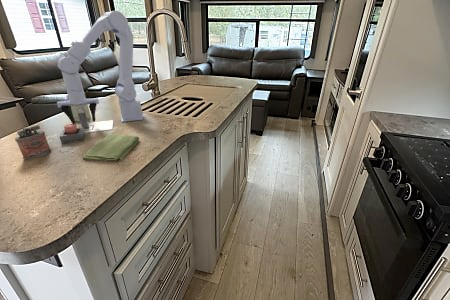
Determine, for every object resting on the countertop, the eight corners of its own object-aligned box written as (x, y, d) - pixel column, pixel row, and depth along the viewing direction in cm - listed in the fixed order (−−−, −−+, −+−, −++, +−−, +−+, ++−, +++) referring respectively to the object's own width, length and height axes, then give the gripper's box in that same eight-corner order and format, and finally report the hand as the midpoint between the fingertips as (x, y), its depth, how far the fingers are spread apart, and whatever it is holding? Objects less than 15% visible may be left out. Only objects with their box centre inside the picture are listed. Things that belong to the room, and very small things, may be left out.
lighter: (26, 161, 76) (14, 132, 72) (21, 159, 78) (9, 130, 73) (53, 151, 82) (43, 124, 78) (48, 149, 84) (38, 122, 80)
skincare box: (82, 122, 109) (74, 95, 104) (73, 121, 110) (65, 95, 104) (91, 117, 115) (84, 92, 109) (83, 117, 115) (76, 91, 110)
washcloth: (81, 162, 77) (78, 153, 75) (110, 139, 93) (108, 132, 91) (120, 164, 76) (117, 155, 74) (142, 141, 91) (141, 133, 90)
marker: (91, 127, 102) (85, 106, 98) (86, 129, 100) (80, 108, 96) (85, 126, 103) (79, 106, 99) (80, 129, 100) (74, 108, 96)
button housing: (85, 134, 96) (83, 127, 95) (83, 141, 90) (80, 133, 89) (65, 136, 94) (63, 129, 93) (61, 143, 88) (59, 136, 87)
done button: (78, 129, 93) (76, 123, 92) (76, 132, 90) (75, 126, 89) (66, 130, 92) (65, 124, 91) (64, 134, 89) (62, 128, 87)
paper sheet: (113, 120, 111) (113, 119, 111) (112, 129, 101) (112, 128, 101) (71, 125, 105) (71, 124, 105) (66, 135, 95) (66, 134, 95)
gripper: (96, 86, 100) (103, 117, 106) (56, 88, 95) (66, 121, 101) (94, 89, 94) (102, 122, 100) (51, 92, 89) (62, 126, 95)
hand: (84, 122), depth 100 cm, fingers open, 7 cm apart
